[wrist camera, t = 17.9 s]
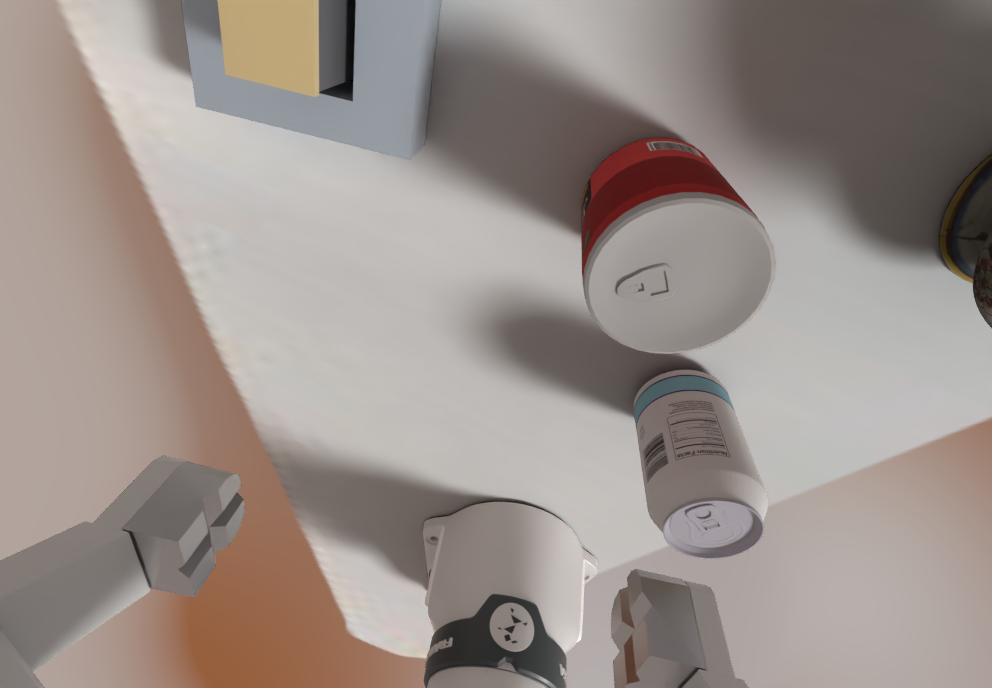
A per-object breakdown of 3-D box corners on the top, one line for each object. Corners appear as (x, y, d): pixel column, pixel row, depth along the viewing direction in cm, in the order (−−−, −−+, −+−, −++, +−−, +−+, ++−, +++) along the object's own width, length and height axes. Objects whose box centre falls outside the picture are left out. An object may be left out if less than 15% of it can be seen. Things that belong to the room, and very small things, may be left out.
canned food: (558, 181, 30) (551, 258, 21) (685, 103, 27) (739, 155, 18) (615, 277, 34) (630, 379, 25) (735, 218, 30) (802, 311, 21)
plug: (366, 77, 28) (314, 97, 23) (295, 59, 28) (225, 74, 23) (370, -11, 26) (313, -14, 20) (292, -31, 26) (213, -39, 20)
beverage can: (656, 439, 41) (681, 575, 32) (616, 384, 39) (630, 514, 29) (739, 409, 39) (795, 548, 29) (702, 346, 36) (750, 477, 26)
